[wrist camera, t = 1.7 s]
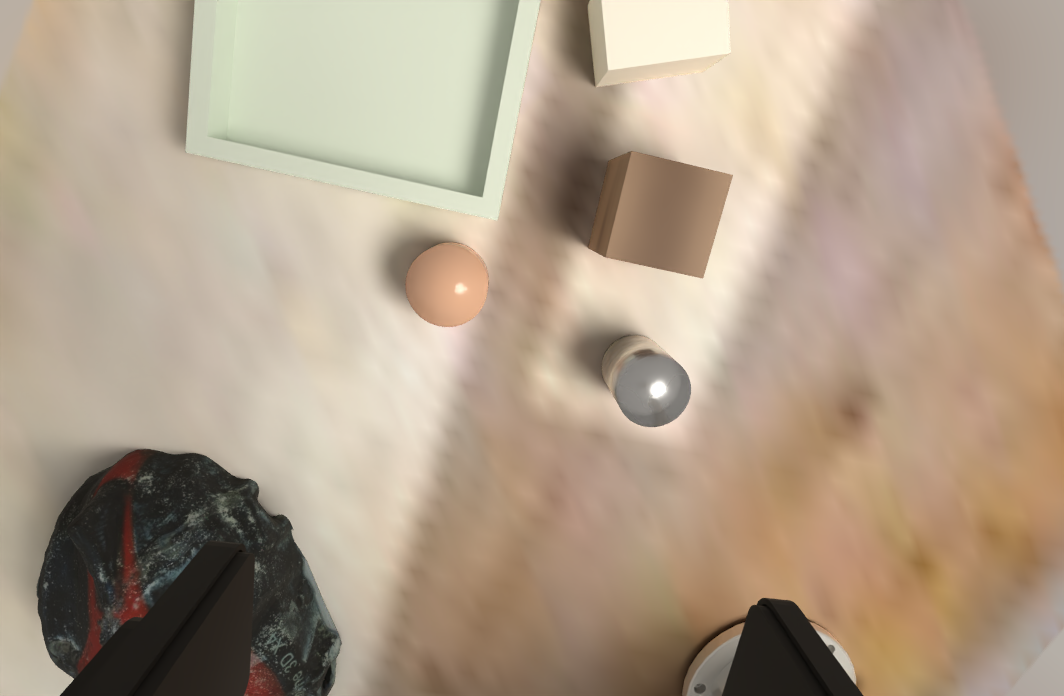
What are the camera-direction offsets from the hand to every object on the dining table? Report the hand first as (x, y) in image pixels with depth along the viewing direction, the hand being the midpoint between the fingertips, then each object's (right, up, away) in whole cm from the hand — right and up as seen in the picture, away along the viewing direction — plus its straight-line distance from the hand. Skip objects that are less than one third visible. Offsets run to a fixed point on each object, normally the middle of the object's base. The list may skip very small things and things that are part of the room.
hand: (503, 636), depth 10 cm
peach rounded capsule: (-4, +9, +23) cm, 25 cm away
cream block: (+7, +22, +20) cm, 31 cm away
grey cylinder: (+7, +4, +24) cm, 26 cm away
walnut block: (+7, +13, +22) cm, 27 cm away
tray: (-8, +22, +19) cm, 30 cm away
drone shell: (-21, -12, +28) cm, 37 cm away
